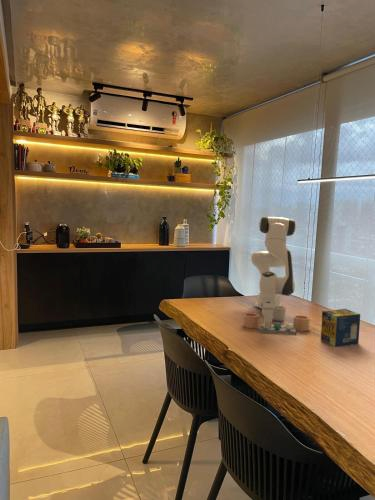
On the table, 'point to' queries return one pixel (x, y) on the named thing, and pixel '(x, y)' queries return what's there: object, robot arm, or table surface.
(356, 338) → the protein box
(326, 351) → the table surface
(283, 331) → the tray
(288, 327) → the ball
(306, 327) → the tube
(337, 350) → the table surface
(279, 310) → the cup
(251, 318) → the tube
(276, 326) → the ball
